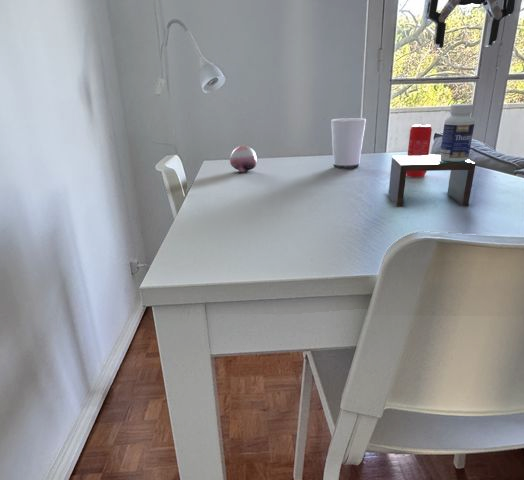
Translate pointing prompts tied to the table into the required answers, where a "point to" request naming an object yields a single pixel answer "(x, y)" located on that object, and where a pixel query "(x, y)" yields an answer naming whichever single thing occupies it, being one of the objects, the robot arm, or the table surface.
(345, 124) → the cup
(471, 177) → the shelf
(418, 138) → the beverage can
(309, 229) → the table surface
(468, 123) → the pill bottle
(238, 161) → the onion
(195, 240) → the table surface
